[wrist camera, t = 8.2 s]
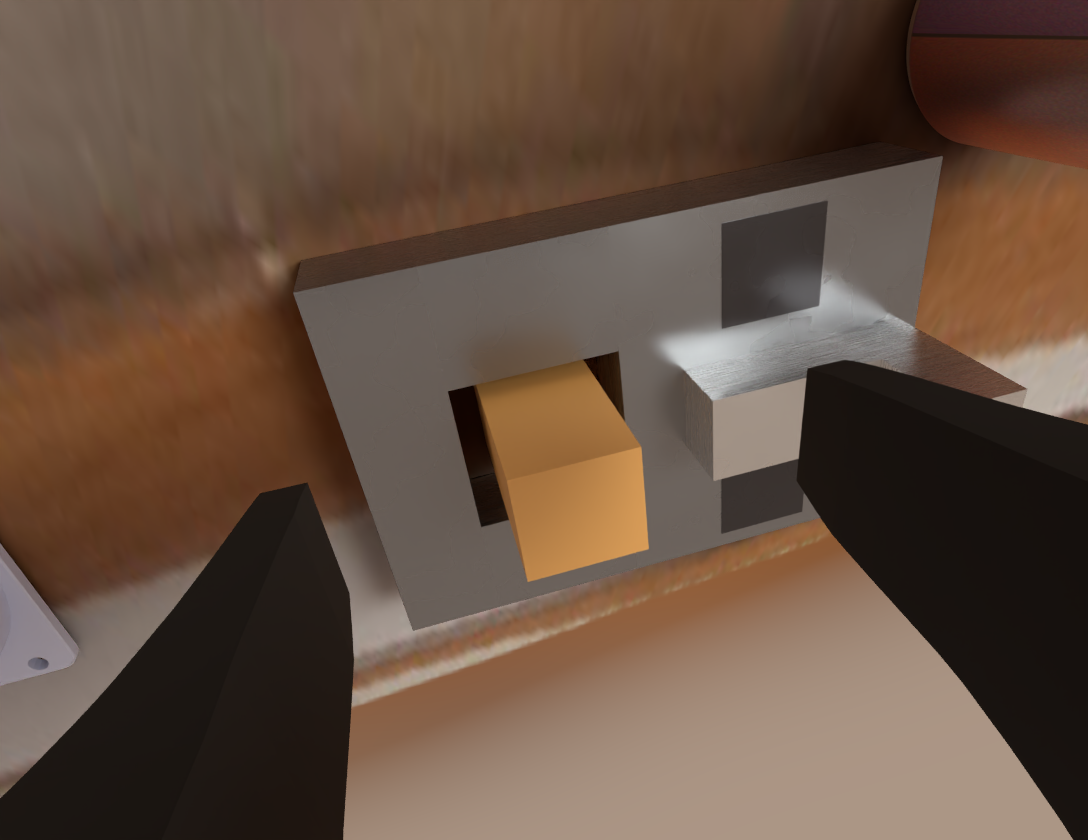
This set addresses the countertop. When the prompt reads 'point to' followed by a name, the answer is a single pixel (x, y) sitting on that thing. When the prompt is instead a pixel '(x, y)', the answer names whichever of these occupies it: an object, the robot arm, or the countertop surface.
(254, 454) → the countertop surface
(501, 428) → the orange rectangular block
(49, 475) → the countertop surface
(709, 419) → the bracket
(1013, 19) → the beverage can
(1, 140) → the countertop surface
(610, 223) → the rosette plate
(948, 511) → the robot arm
